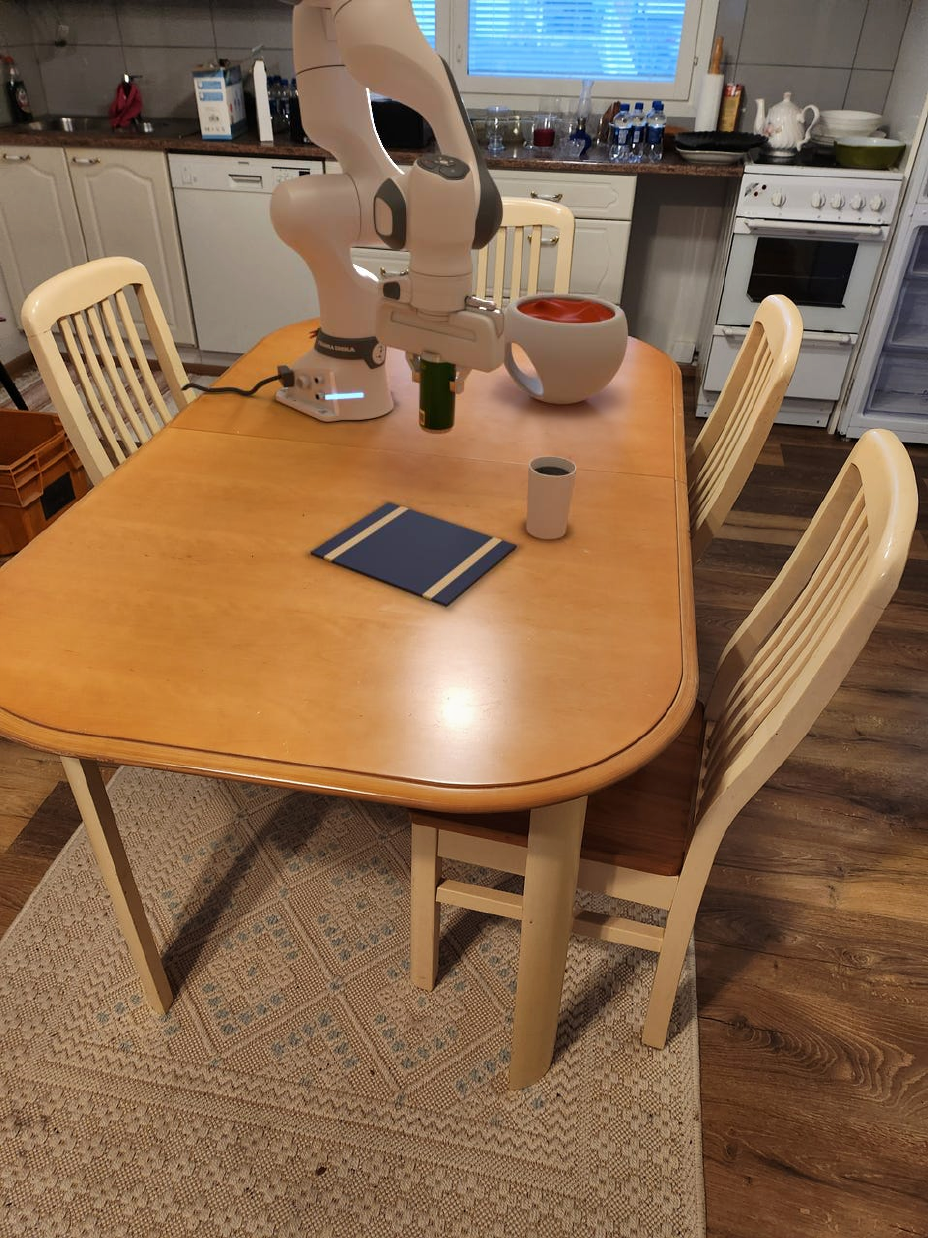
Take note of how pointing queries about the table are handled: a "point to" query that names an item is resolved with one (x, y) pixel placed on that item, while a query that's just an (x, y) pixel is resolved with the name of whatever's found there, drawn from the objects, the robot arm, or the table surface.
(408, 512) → the cloth
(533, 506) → the white coffee cup
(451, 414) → the green drink can
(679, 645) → the table surface
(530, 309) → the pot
